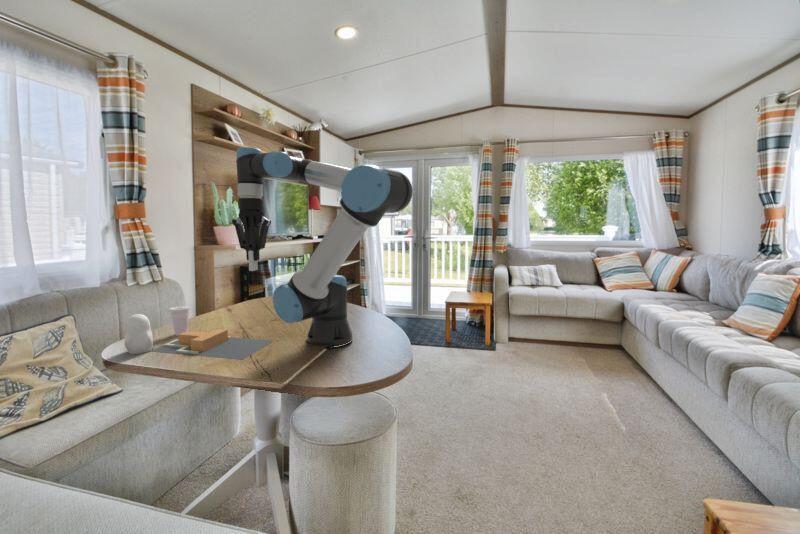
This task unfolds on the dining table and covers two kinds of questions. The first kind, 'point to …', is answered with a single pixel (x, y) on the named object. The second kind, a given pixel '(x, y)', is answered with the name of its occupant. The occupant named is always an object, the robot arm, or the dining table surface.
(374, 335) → the dining table surface
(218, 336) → the t block
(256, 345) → the mat
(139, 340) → the figurine
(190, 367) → the dining table surface
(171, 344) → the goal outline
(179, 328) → the smoothie
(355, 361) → the dining table surface
